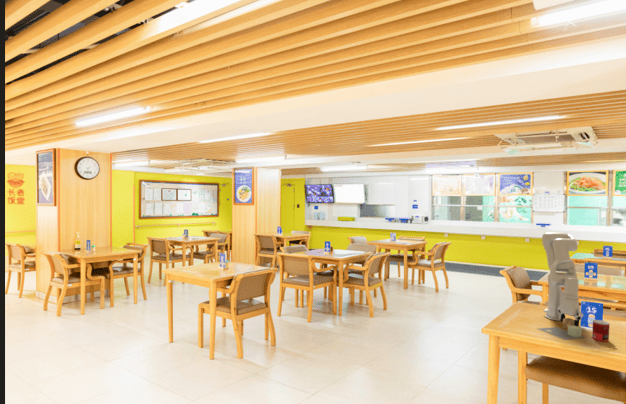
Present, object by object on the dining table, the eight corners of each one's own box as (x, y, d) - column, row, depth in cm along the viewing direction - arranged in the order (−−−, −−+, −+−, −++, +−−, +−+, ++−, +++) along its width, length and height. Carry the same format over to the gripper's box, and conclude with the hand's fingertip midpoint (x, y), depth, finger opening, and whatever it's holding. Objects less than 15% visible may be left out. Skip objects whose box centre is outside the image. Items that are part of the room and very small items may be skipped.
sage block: (567, 334, 244) (567, 326, 244) (573, 333, 246) (574, 325, 246) (575, 337, 240) (575, 328, 240) (581, 336, 241) (581, 328, 241)
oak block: (562, 327, 259) (563, 318, 259) (568, 327, 260) (569, 318, 260) (569, 330, 254) (570, 320, 254) (575, 329, 256) (576, 320, 255)
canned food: (605, 343, 231) (606, 324, 231) (589, 339, 238) (590, 320, 238) (610, 341, 236) (611, 322, 236) (595, 337, 242) (595, 319, 242)
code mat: (536, 329, 253) (536, 328, 253) (556, 327, 258) (556, 327, 258) (565, 340, 234) (565, 339, 234) (586, 338, 239) (586, 337, 239)
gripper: (554, 293, 264) (553, 319, 264) (578, 300, 247) (577, 328, 248) (563, 293, 266) (562, 319, 266) (588, 300, 250) (586, 327, 250)
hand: (569, 323), depth 257 cm, fingers open, 9 cm apart
